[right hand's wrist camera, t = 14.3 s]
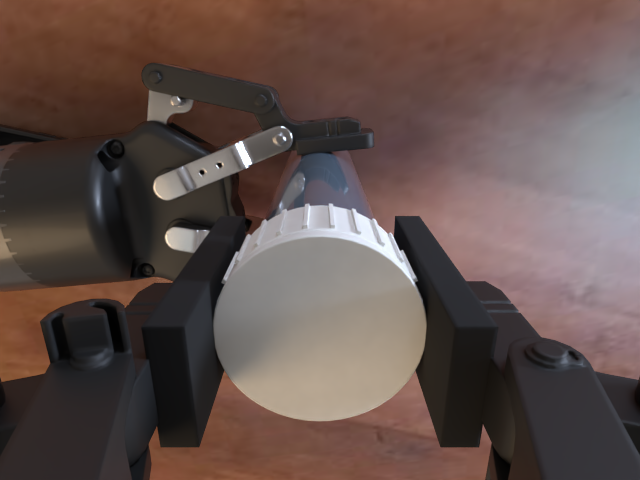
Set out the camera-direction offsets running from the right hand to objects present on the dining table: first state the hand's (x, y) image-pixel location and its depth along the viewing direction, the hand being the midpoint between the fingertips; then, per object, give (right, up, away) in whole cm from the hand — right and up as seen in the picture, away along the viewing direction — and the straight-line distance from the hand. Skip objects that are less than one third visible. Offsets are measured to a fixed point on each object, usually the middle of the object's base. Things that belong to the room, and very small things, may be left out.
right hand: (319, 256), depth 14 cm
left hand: (+3, +3, +8) cm, 9 cm away
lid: (0, -2, -4) cm, 4 cm away
